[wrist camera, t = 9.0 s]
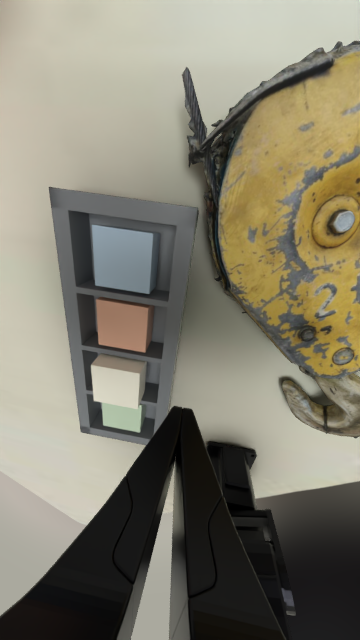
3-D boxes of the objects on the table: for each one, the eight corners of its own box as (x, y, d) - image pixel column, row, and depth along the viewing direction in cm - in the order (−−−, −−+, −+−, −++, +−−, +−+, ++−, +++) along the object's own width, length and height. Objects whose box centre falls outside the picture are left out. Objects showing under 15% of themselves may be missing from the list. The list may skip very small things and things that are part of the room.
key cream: (144, 390, 21) (137, 409, 19) (105, 383, 21) (93, 400, 19) (147, 357, 19) (139, 373, 17) (103, 349, 19) (90, 364, 17)
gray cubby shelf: (166, 425, 26) (162, 448, 23) (93, 411, 26) (80, 432, 24) (198, 211, 15) (197, 207, 12) (75, 194, 16) (48, 186, 13)
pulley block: (274, 482, 18) (163, 11, 7) (250, 427, 23) (166, 110, 13) (435, 444, 17) (590, -184, 6) (371, 395, 22) (392, 18, 11)
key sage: (145, 414, 25) (139, 432, 22) (111, 408, 25) (103, 425, 23) (147, 389, 23) (141, 405, 21) (111, 382, 23) (101, 398, 21)
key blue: (155, 286, 18) (149, 294, 15) (108, 278, 18) (95, 285, 16) (160, 233, 16) (153, 233, 14) (107, 225, 16) (91, 224, 14)
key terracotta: (151, 339, 20) (145, 352, 18) (109, 332, 20) (98, 344, 18) (154, 298, 18) (148, 308, 16) (108, 291, 18) (96, 299, 16)
